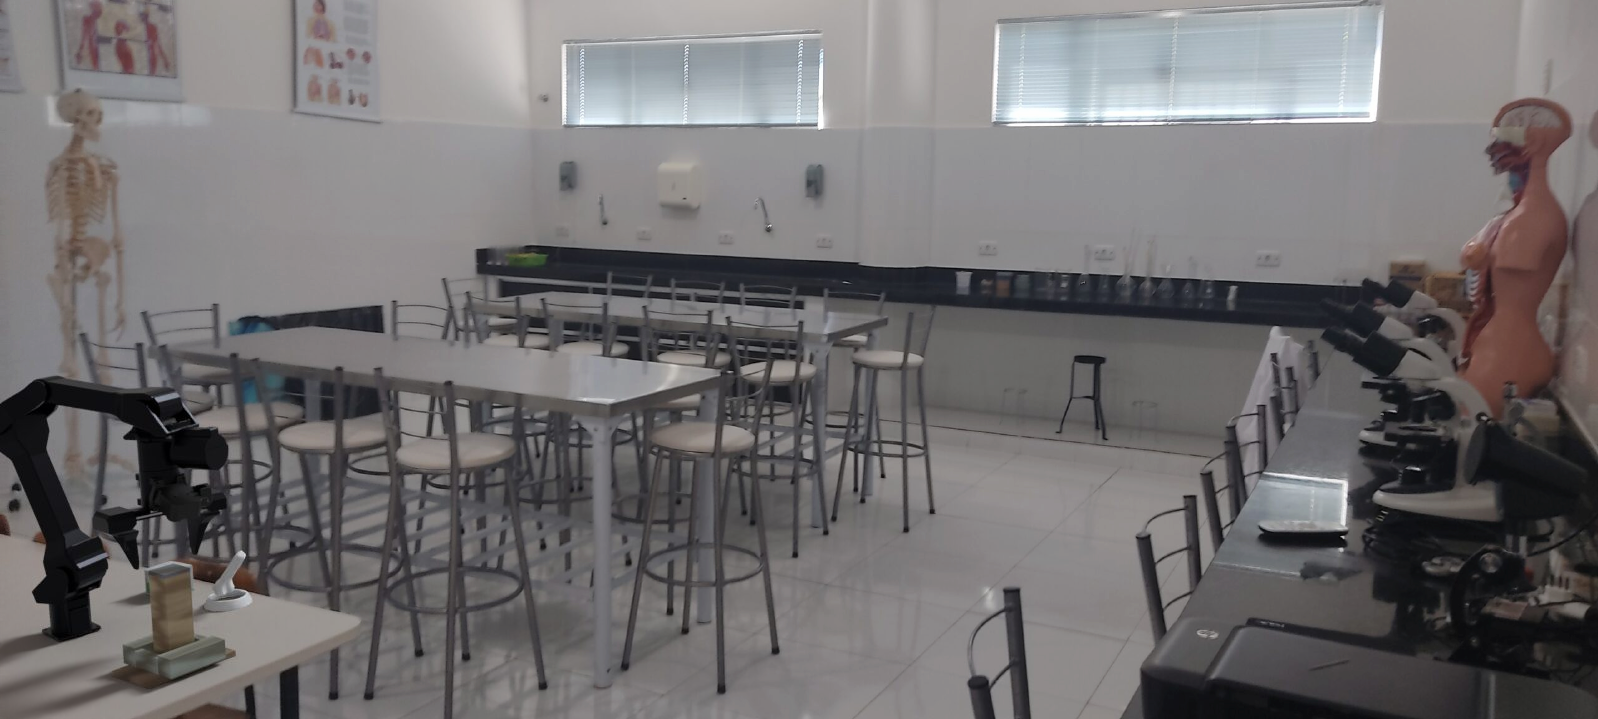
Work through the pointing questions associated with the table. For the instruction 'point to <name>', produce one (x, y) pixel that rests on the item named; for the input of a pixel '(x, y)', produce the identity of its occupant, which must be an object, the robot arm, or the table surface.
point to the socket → (169, 660)
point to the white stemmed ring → (228, 589)
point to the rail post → (171, 607)
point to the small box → (162, 566)
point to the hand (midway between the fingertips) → (166, 561)
